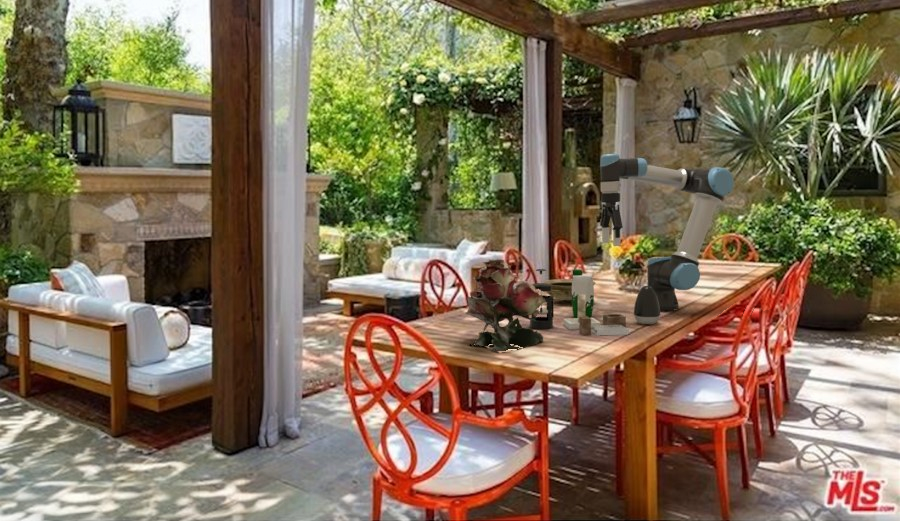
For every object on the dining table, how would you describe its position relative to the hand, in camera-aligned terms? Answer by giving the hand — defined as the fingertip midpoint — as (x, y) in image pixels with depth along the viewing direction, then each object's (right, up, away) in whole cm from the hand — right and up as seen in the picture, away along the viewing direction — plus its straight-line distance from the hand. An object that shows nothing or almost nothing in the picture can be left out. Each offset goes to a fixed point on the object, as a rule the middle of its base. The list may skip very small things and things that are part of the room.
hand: (611, 244), depth 281 cm
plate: (-6, -34, -24) cm, 42 cm away
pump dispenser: (+12, -32, -8) cm, 35 cm away
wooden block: (-15, -34, -24) cm, 44 cm away
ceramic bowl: (-9, -27, +45) cm, 53 cm away
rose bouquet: (-48, -36, -35) cm, 70 cm away
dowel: (-14, -32, -12) cm, 37 cm away
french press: (-30, -33, -10) cm, 45 cm away
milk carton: (-10, -31, +8) cm, 33 cm away
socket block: (-2, -32, -11) cm, 34 cm away
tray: (-14, -33, -12) cm, 38 cm away
